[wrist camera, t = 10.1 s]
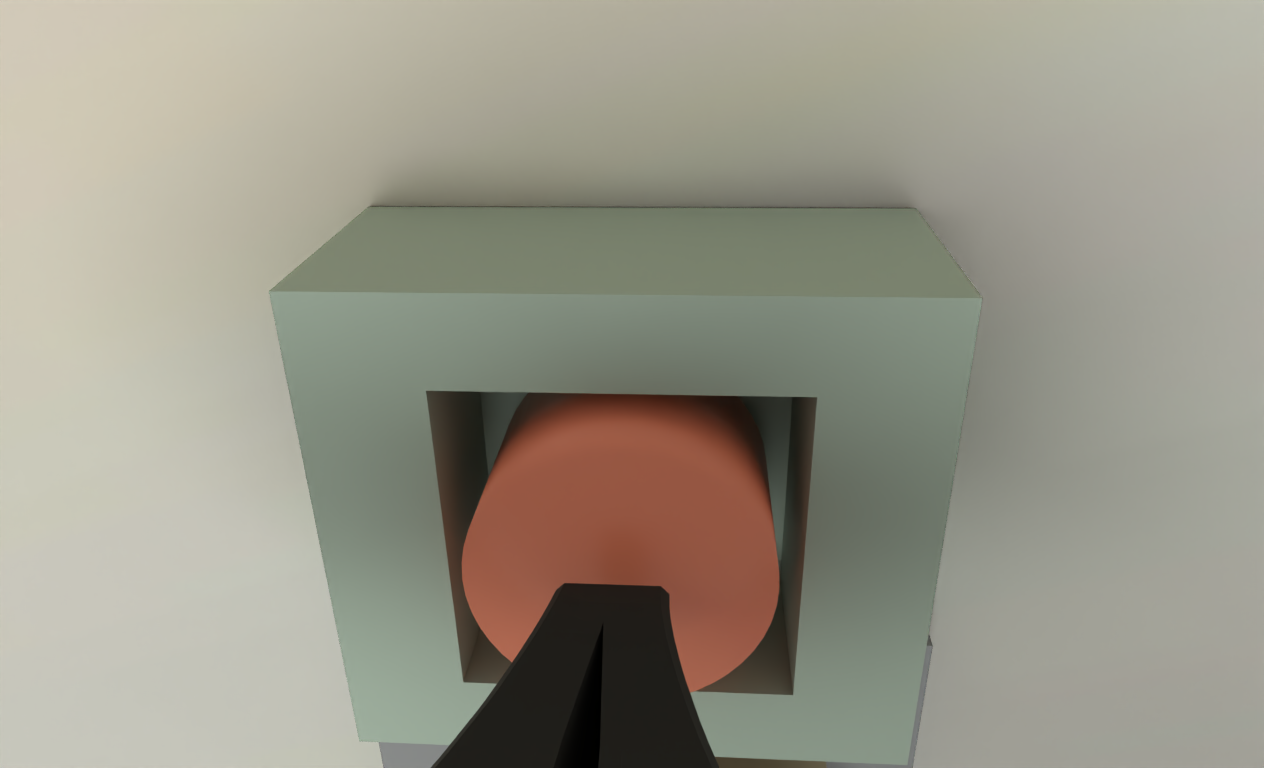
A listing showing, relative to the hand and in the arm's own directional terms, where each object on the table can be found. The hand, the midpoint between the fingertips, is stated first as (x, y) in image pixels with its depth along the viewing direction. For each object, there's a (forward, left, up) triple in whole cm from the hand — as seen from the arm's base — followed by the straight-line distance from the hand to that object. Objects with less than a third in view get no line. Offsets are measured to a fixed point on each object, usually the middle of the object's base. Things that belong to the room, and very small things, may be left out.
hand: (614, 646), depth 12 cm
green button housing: (0, 0, -6) cm, 6 cm away
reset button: (0, 0, -4) cm, 4 cm away
